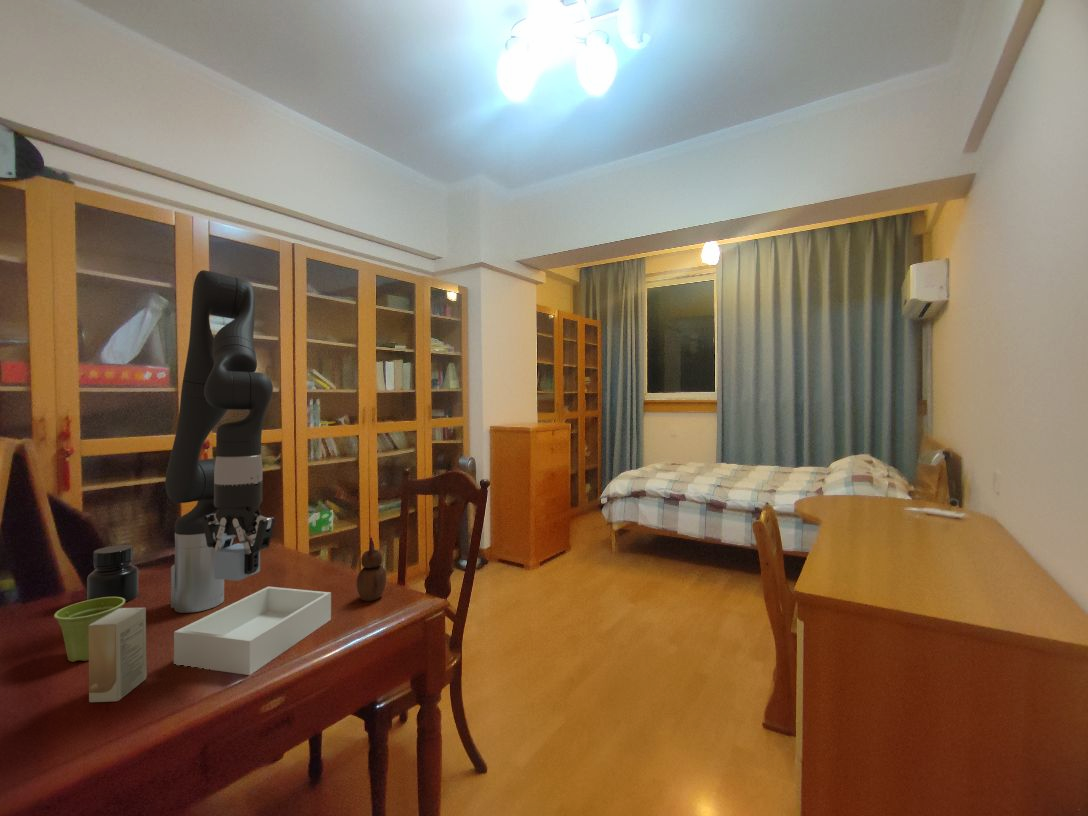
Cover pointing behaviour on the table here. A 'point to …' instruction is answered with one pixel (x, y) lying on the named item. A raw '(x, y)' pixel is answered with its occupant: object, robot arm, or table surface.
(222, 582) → the robot arm
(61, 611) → the plant pot
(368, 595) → the wooden figurine
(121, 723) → the table surface
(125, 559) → the ink bottle
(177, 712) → the table surface
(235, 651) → the tote
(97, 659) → the skincare box
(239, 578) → the cube
